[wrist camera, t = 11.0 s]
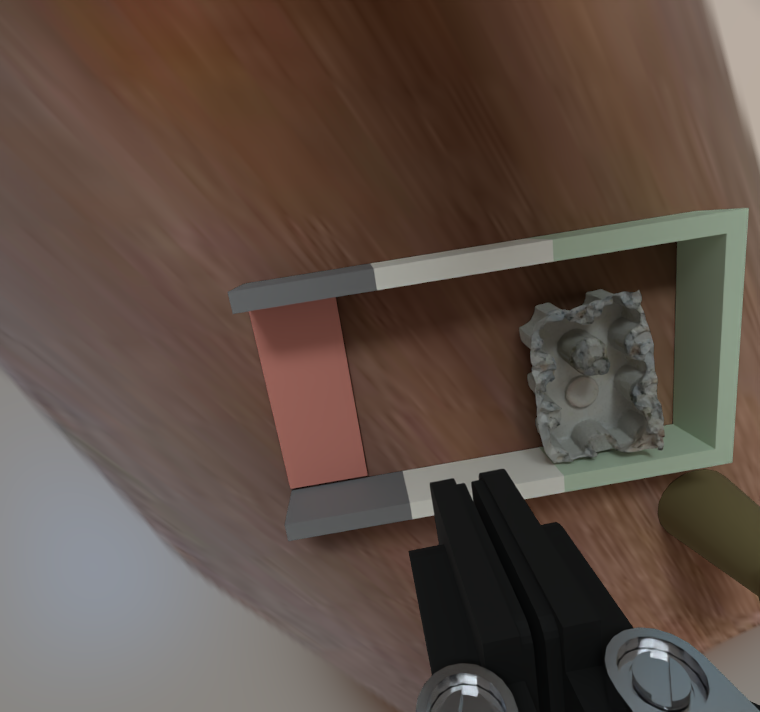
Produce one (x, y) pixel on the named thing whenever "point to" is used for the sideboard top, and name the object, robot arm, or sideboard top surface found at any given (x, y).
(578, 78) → the sideboard top surface
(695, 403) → the frame
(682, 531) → the cork
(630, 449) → the egg carton
